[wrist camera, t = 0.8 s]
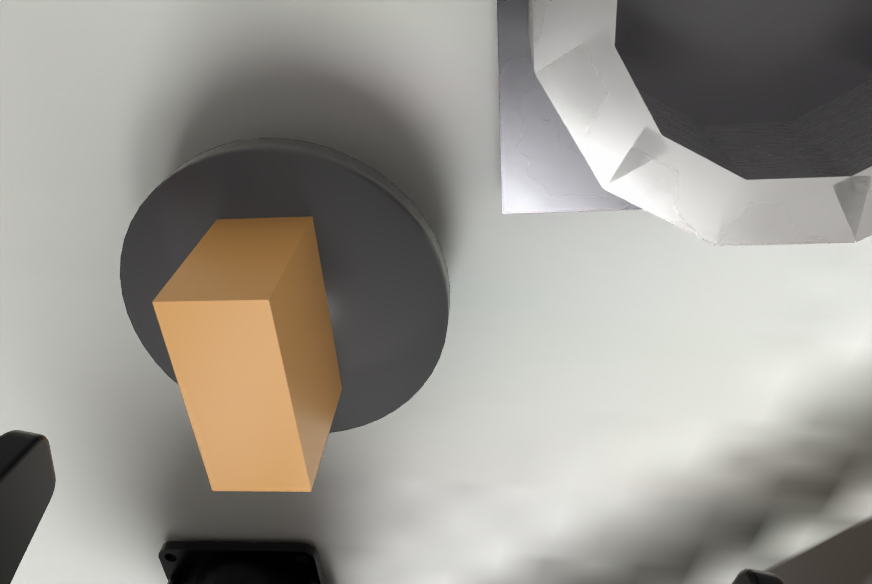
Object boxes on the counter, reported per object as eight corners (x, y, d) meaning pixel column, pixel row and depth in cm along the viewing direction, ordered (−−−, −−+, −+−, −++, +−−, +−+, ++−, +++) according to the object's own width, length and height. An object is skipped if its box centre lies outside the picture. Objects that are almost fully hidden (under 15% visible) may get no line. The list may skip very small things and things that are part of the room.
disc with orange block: (202, 374, 25) (108, 537, 19) (128, 121, 20) (-27, 230, 14) (461, 372, 24) (448, 542, 18) (444, 106, 19) (419, 216, 13)
